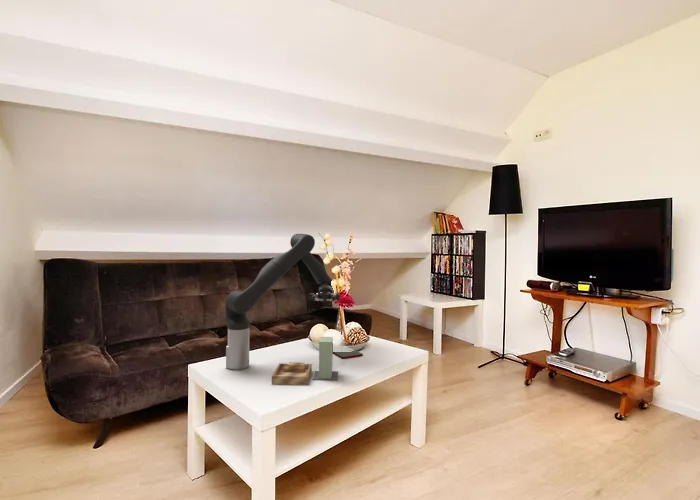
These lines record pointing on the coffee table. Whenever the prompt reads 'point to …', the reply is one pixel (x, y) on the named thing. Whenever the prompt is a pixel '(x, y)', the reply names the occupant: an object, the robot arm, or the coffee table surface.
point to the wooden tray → (291, 375)
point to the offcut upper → (296, 365)
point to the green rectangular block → (325, 357)
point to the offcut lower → (293, 369)
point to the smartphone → (348, 354)
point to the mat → (316, 377)
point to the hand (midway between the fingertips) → (323, 299)
